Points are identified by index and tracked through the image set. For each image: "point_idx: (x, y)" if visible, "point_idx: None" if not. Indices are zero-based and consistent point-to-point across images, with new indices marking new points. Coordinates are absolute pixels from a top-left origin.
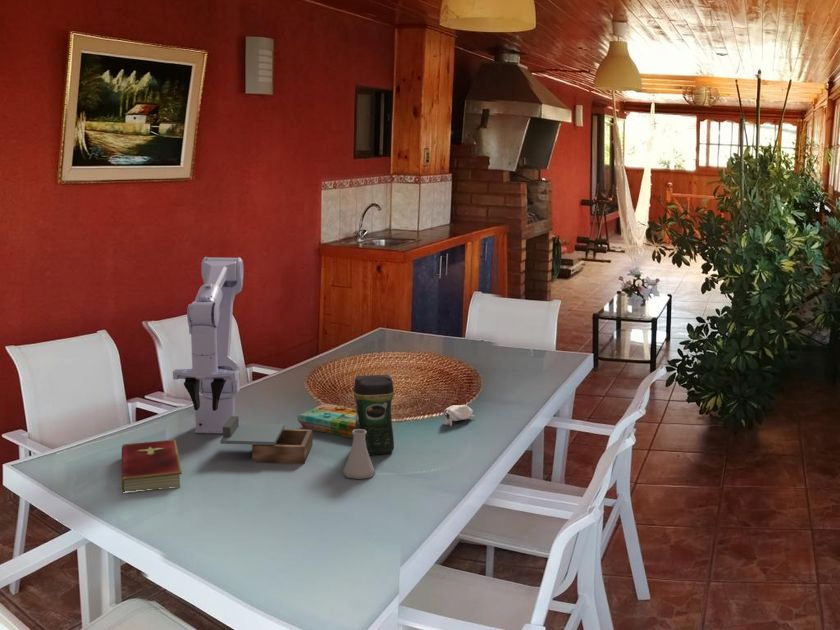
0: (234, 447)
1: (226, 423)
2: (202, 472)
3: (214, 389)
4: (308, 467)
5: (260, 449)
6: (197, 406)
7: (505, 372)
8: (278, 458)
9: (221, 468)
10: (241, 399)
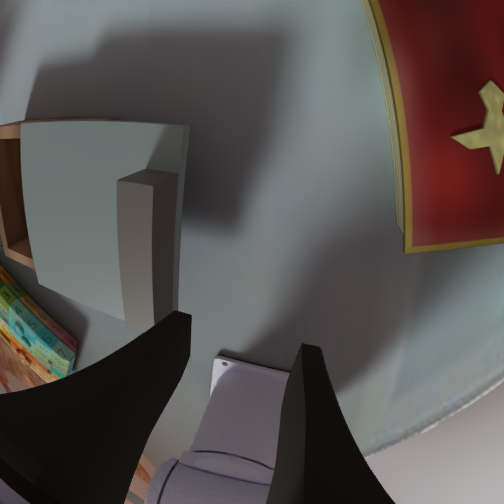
0: (191, 256)
1: (146, 245)
2: (276, 24)
3: (56, 415)
4: (18, 99)
5: None
6: (297, 366)
7: None
8: (54, 119)
9: (210, 57)
10: None
